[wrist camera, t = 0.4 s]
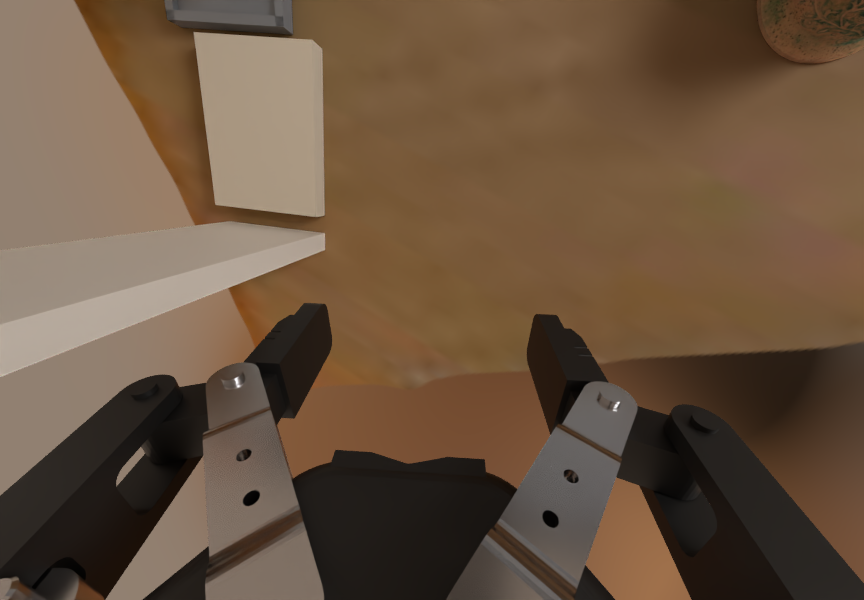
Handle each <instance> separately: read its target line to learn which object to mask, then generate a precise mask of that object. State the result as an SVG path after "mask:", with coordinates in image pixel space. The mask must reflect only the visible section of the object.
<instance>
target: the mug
mask: <svg viewBox="0 0 864 600" xmlns="http://www.w3.org/2000/svg"><path fill="white" fill-rule="evenodd" d="M757 17H758V23H759V27H760V30H761V33H762V35H763V37H764V39H765V40H766V42H767V44H768V45H769V46H770V47H771V48H772V49H773V50H774V51H775V52H776V53H778V54H779V55H780V56H782V57H784V58H786V59H788V60H791V61H794V62H799V63H808V64H814V63H824V62H829V61H833V60H836V59H840V58H843V57H846V56H848V55H851V54H853V53H856V52H858V51H860V50H862V49H864V0H757Z"/></svg>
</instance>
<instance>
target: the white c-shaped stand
mask: <svg viewBox="0 0 864 600" xmlns="http://www.w3.org/2000/svg"><path fill="white" fill-rule="evenodd" d="M194 38H195V46H196V54H197V62H198V70H199V78H200V86H201V94H202V102H203V110H204V118H205V126H206V134H207V142H208V150H209V157H210V165H211V173H212V181H213V189H214V197H215V205H221V206H229V207H237V208H246V209H254V210H262V211H270V212H279V213H287V214H295V215H303V216H312V217H320V216H325V207H324V135H323V62H322V48H321V47H320V46H319V45H317V44H316V43H315V42H314V41H313V40H306V39H291V38H276V37H260V36H245V35H230V34H215V33H200V32H194ZM324 250H325V233H320V232H312V231H304V230H296V229H288V228H280V227H272V226H264V225H256V224H248V223H241V222H233V221H228V222H220V223H212V224H204V225H196V226H189V227H181V228H173V229H165V230H157V231H149V232H141V233H134V234H126V235H118V236H109V237H101V238H93V239H85V240H78V241H69V242H62V243H54V244H46V245H38V246H30V247H22V248H14V249H6V250H0V377H2V376H4V375H7V374H10V373H12V372H15V371H17V370H20V369H22V368H25V367H27V366H30V365H33V364H35V363H38V362H40V361H43V360H45V359H48V358H50V357H53V356H56V355H58V354H61V353H63V352H66V351H68V350H71V349H73V348H76V347H79V346H81V345H84V344H86V343H89V342H91V341H94V340H96V339H99V338H101V337H104V336H107V335H109V334H112V333H114V332H117V331H119V330H122V329H125V328H127V327H129V326H132V325H134V324H137V323H140V322H142V321H145V320H147V319H150V318H152V317H155V316H158V315H160V314H163V313H165V312H168V311H170V310H173V309H176V308H178V307H180V306H183V305H186V304H188V303H191V302H193V301H196V300H198V299H201V298H204V297H206V296H209V295H211V294H214V293H216V292H219V291H221V290H224V289H227V288H229V287H232V286H234V285H237V284H239V283H242V282H245V281H247V280H250V279H252V278H255V277H257V276H260V275H262V274H265V273H267V272H270V271H273V270H275V269H278V268H280V267H283V266H285V265H288V264H290V263H293V262H296V261H298V260H301V259H303V258H306V257H308V256H311V255H313V254H316V253H319V252H321V251H324Z"/></svg>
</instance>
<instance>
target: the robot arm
mask: <svg viewBox="0 0 864 600" xmlns="http://www.w3.org/2000/svg"><path fill="white" fill-rule="evenodd" d="M331 346H332V334H331V328H330V322H329V316H328V310H327V307H326V305H325V304H316V303H304V304H303V305H302V306H301V307H300V309H299V310H298V311H297V312H296V314H295V315H289V316H288V317H286V318H284V319H283V320H281V321H279V322H278V323H277V324H276V325H275V327H274V328H273V329H272V330H271V332H269V333H268V335H267V336H266V337H265V339H263V340H262V341H261V343H260V344H259V345H258V346H257V347H256V348H255V350H254V351H253V352H252V353H251V354H250V355H249V356H248V358H247V359H246V360H245V361H244V362H243V363H236V364H232V365H229V366H226V367H224V368H222V369H220V370H219V371H217V372H216V373H214V374H213V375H212V376H211V377H210V378H209V379H208V381H207V383H202V384H196V385H190V386H184V387H179V386H178V384H177V382H176V380H175V378H174V377H172V376H170V375H155V376H150V377H147V378H144V379H141V380H139V381H137V382H134V383H132V384H131V385H129V386H127V387H126V388H124V389H123V390H122V391H120V392H119V393H118V394H117V395H116V396H115V397H113V398H112V399H111V400H110V401H109V402H108V403H107V404H105V405H104V406H103V407H102V408H101V409H100V410H98V411H97V412H96V413H95V414H94V415H93V416H92V417H90V418H89V419H88V420H87V421H86V422H85V423H84V424H82V425H81V426H80V427H79V428H78V429H77V430H75V431H74V432H73V433H72V434H71V435H70V436H69V437H67V438H66V439H65V440H64V441H63V442H62V443H60V444H59V445H58V446H57V447H56V448H55V449H54V450H52V452H50V453H49V454H48V455H47V456H46V457H44V458H43V459H42V460H41V461H40V462H39V463H37V464H36V465H35V466H34V467H33V468H32V469H31V470H30V471H28V472H27V473H26V474H25V475H24V476H22V477H21V478H20V479H19V480H18V481H17V482H16V483H14V484H13V485H12V486H11V487H10V488H9V489H8V490H6V491H5V492H4V493H3V494H2V495H1V496H0V600H105V599H106V598H107V596H108V595H109V593H110V592H111V590H112V589H113V587H114V586H115V584H116V583H117V581H118V580H119V578H120V577H121V576H122V574H123V573H124V571H125V570H126V568H127V567H128V565H129V564H130V562H131V561H132V559H133V558H134V556H135V555H136V554H137V552H138V551H139V549H140V548H141V546H142V545H143V543H144V542H145V540H146V539H147V537H148V536H149V534H150V533H151V531H152V530H153V529H154V527H155V526H156V524H157V523H158V521H159V520H160V518H161V517H162V515H163V514H164V512H165V511H166V509H167V508H168V506H169V505H170V504H171V502H172V501H173V499H174V498H175V496H176V495H177V493H178V492H179V490H180V489H181V487H182V486H183V484H184V483H185V482H186V480H187V478H188V477H189V476H190V474H191V473H192V471H193V470H194V468H195V467H196V465H197V464H198V462H199V461H200V460H201V458H202V457H203V455H204V472H205V489H206V505H207V506H206V507H207V523H208V541H209V546H208V547H207V548H206V549H205V550H203V551H202V552H201V553H200V554H198V555H197V556H196V557H195V558H194V559H192V560H191V561H190V562H189V563H187V564H186V565H185V566H184V567H183V568H181V569H180V570H179V571H177V572H176V573H175V574H174V575H173V576H172V577H170V578H169V579H168V580H166V581H165V582H164V583H163V584H161V585H160V586H159V587H158V588H156V589H155V590H154V591H153V592H151V593H150V594H149V595H148V596H147V597H145V598H144V599H143V600H615V599H614V598H613V596H612V595H611V594H610V593H609V592H608V591H607V590H606V588H605V587H604V586H603V585H602V584H601V583H600V581H599V580H598V579H597V578H596V577H595V576H594V575H593V573H592V572H591V571H590V570H589V569H588V568H587V566H586V565H585V564H586V561H587V558H588V556H589V553H590V550H591V547H592V544H593V541H594V538H595V535H596V533H597V530H598V527H599V524H600V521H601V518H602V516H603V512H604V510H605V507H606V504H607V501H608V499H609V496H610V493H611V490H612V487H613V484H614V481H615V478H616V477H617V478H620V479H623V480H626V481H628V482H631V483H634V484H637V485H639V486H640V488H641V490H642V492H643V494H644V497H645V499H646V501H647V503H648V505H649V508H650V510H651V512H652V514H653V516H654V519H655V521H656V523H657V525H658V527H659V529H660V531H661V534H662V536H663V538H664V540H665V543H666V545H667V547H668V549H669V551H670V553H671V556H672V558H673V560H674V562H675V564H676V567H677V569H678V571H679V573H680V575H681V578H682V580H683V582H684V584H685V586H686V588H687V591H688V593H689V595H690V597H691V599H692V600H864V583H863V582H862V581H861V580H860V579H859V577H858V576H857V575H856V574H855V573H854V571H853V570H852V569H851V568H850V567H849V566H848V564H847V563H846V562H845V561H844V560H843V558H842V557H841V556H840V555H839V554H838V553H837V551H836V550H835V549H834V548H833V547H832V546H831V544H830V543H829V542H828V541H827V540H826V539H825V537H824V536H823V535H822V534H821V533H820V531H819V530H818V529H817V528H816V527H815V526H814V524H813V523H812V522H811V521H810V520H809V518H808V517H807V516H806V515H805V514H804V512H803V511H802V510H801V509H800V508H799V507H798V506H797V504H796V503H795V502H794V501H793V499H792V498H791V497H790V496H789V495H788V494H787V492H786V491H785V490H784V489H783V488H782V486H780V484H779V483H778V482H777V481H776V479H775V478H774V477H773V476H772V475H771V474H770V472H769V471H768V470H767V469H766V468H765V466H764V465H763V464H762V463H761V462H760V461H759V459H758V458H757V457H756V456H755V455H754V453H753V452H752V451H751V450H750V449H749V448H748V447H747V445H746V444H745V443H744V442H743V441H742V440H741V438H740V437H739V436H738V435H737V434H736V432H735V431H734V430H733V429H732V428H731V427H730V425H729V424H727V423H726V422H725V421H724V420H723V419H721V418H720V417H718V416H717V415H715V414H713V413H712V412H709V411H707V410H705V409H703V408H700V407H697V406H693V405H678V406H675V407H674V408H673V409H672V411H671V413H670V415H666V414H662V413H659V412H655V411H652V410H648V409H645V408H642V407H639V406H637V404H636V402H635V400H634V399H633V398H632V396H631V395H630V394H628V393H627V392H626V391H625V390H623V389H622V388H620V387H618V386H616V385H613V384H611V383H609V382H608V381H607V379H606V377H605V376H604V374H603V372H602V371H601V369H600V367H599V366H598V364H597V362H596V361H595V359H594V357H592V354H591V352H590V351H589V349H587V346H586V344H585V342H584V341H583V339H582V338H581V337H580V336H579V335H578V334H577V333H575V332H574V331H573V330H572V329H565V328H564V327H563V325H562V323H561V322H560V320H559V318H558V316H557V315H545V314H536V315H535V316H534V318H533V323H532V328H531V332H530V337H529V342H528V347H527V361H528V365H529V368H530V372H531V375H532V378H533V381H534V384H535V387H536V391H537V394H538V397H539V400H540V403H541V406H542V409H543V413H544V416H545V419H546V422H547V425H548V428H549V432H550V435H551V436H550V437H549V439H548V441H547V442H546V444H545V445H544V447H543V449H542V450H541V452H540V454H539V455H538V457H537V459H536V460H535V462H534V463H533V465H532V467H531V468H530V470H529V471H528V473H527V475H526V477H525V478H524V480H523V481H522V483H521V484H520V486H519V488H518V489H516V488H515V487H514V486H512V485H511V484H510V483H508V482H506V481H505V480H503V479H501V478H499V477H497V476H495V475H493V474H490V473H487V472H486V469H485V460H484V459H470V458H453V457H445V458H440V459H434V460H429V461H423V462H418V463H412V464H406V463H403V462H400V461H397V460H394V459H391V458H388V457H385V456H382V455H378V454H375V453H372V452H359V451H343V450H336V451H335V453H334V456H333V459H332V462H331V463H326V464H323V465H319V466H316V467H314V468H312V469H309V470H307V471H305V472H303V473H301V474H299V475H298V476H296V477H295V478H293V477H292V473H291V470H290V467H289V463H288V461H287V457H286V454H285V450H284V447H283V443H282V441H281V437H280V434H279V430H278V428H277V424H278V422H279V421H280V419H281V418H295V416H296V415H297V413H298V411H299V409H300V407H301V405H302V403H303V402H304V400H305V398H306V396H307V394H308V392H309V390H310V389H311V387H312V385H313V383H314V381H315V379H316V377H317V375H318V374H319V372H320V370H321V368H322V366H323V364H324V362H325V360H326V359H327V357H328V355H329V353H330V350H331ZM140 447H142V448H143V450H144V452H145V454H144V456H143V457H142V458H141V459H140V460H139V461H138V463H137V464H136V465H135V466H134V467H133V468H132V470H131V471H130V472H129V473H128V474H127V475H126V477H125V478H124V479H123V480H122V481H121V482H120V483H119V485H118V486H117V487H116V480H117V476H118V474H119V472H120V470H121V469H122V467H123V466H124V465H125V464H126V462H127V461H128V460H129V459H130V458H131V457H132V456H133V455H134V454H135V452H136V451H137V450H138V449H139V448H140ZM704 495H705V496H704Z"/></svg>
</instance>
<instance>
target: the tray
mask: <svg viewBox="0 0 864 600" xmlns="http://www.w3.org/2000/svg"><path fill="white" fill-rule="evenodd" d="M164 1H165V7H166V14H167V20H169V21H171V22H173V23H174V24H176V25H178V26H180V27H182V28H198V29H213V30H229V31H244V32H259V33H275V34H290V35H293V21H292V0H164Z"/></svg>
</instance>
